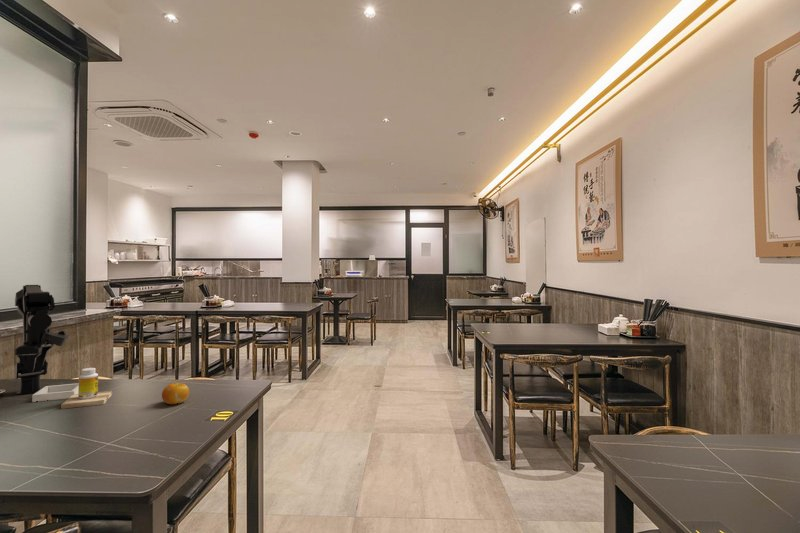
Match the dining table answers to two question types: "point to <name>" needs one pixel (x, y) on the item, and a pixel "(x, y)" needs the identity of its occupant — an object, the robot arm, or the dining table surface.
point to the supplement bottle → (88, 384)
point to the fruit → (175, 393)
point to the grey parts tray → (55, 392)
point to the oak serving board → (86, 400)
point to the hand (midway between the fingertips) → (36, 369)
